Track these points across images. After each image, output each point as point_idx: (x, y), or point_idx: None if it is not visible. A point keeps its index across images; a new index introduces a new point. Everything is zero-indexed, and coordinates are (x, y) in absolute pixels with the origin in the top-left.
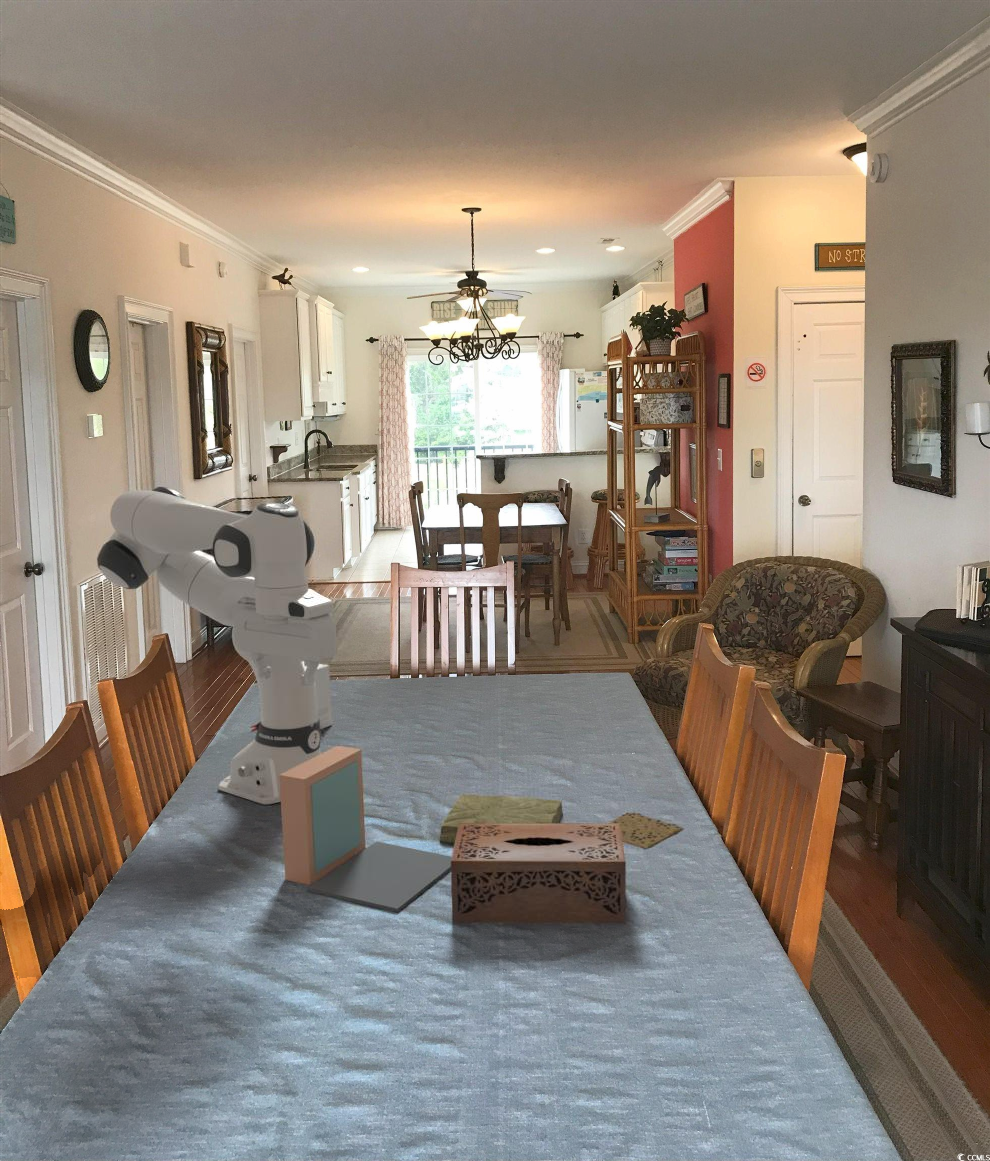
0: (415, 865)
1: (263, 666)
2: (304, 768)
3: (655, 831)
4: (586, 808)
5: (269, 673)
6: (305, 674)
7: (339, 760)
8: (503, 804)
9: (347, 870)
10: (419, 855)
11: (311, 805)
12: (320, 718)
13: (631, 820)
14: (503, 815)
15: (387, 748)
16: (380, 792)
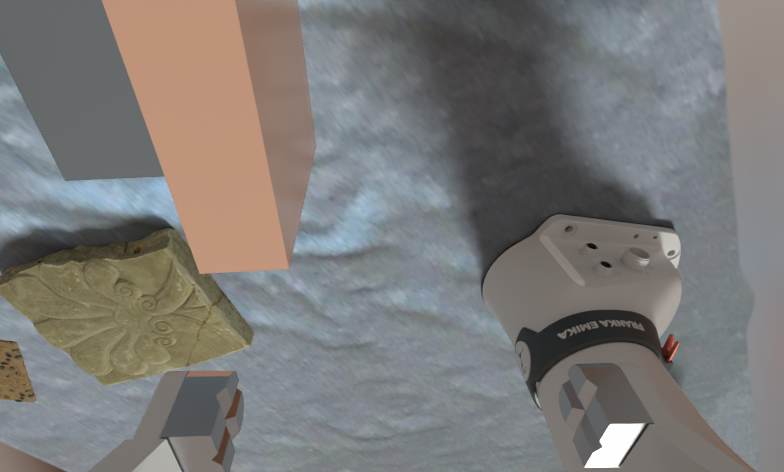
0: (102, 117)
1: (642, 456)
2: (197, 44)
3: None
4: (96, 390)
5: (572, 416)
6: (140, 450)
7: (165, 172)
8: (149, 344)
9: None
10: (136, 158)
11: None
12: None
13: (3, 383)
14: (114, 316)
15: (485, 424)
16: (398, 324)
